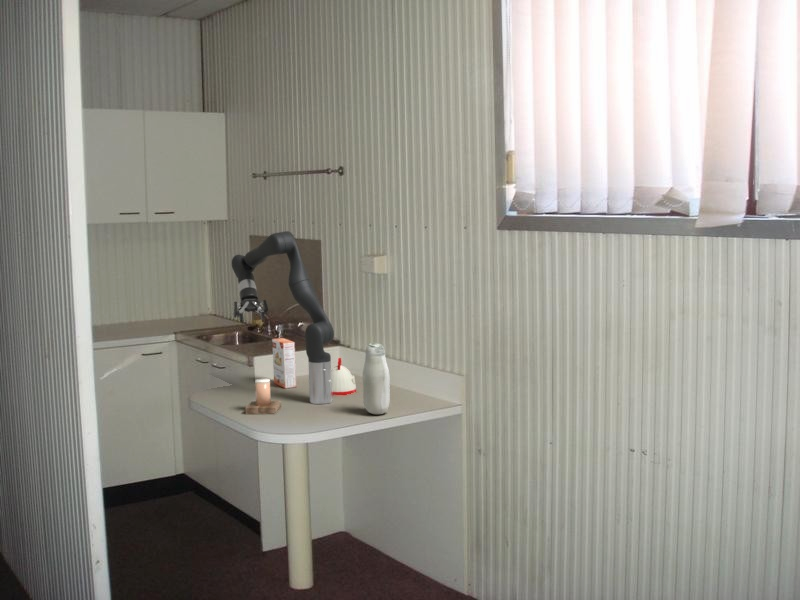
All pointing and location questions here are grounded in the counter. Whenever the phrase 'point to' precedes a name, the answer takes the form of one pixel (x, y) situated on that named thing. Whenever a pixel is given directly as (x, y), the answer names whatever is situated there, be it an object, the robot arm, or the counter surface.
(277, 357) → the cracker box
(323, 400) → the robot arm
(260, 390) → the terracotta canister
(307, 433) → the counter surface
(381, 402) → the glass bottle
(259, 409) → the walnut board
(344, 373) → the kitchen timer
